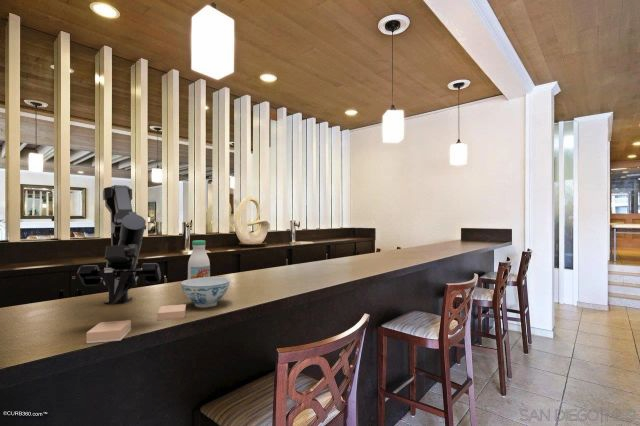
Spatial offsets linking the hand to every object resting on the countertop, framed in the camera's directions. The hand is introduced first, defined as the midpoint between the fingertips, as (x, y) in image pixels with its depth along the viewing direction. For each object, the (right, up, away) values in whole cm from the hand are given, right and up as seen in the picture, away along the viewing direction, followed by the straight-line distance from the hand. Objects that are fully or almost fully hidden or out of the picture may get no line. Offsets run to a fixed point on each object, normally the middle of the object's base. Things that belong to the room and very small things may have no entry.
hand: (113, 302), depth 84 cm
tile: (0, -6, +2) cm, 7 cm away
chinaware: (+14, -8, +27) cm, 31 cm away
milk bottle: (+7, -8, +41) cm, 42 cm away
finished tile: (+8, -8, +15) cm, 19 cm away
